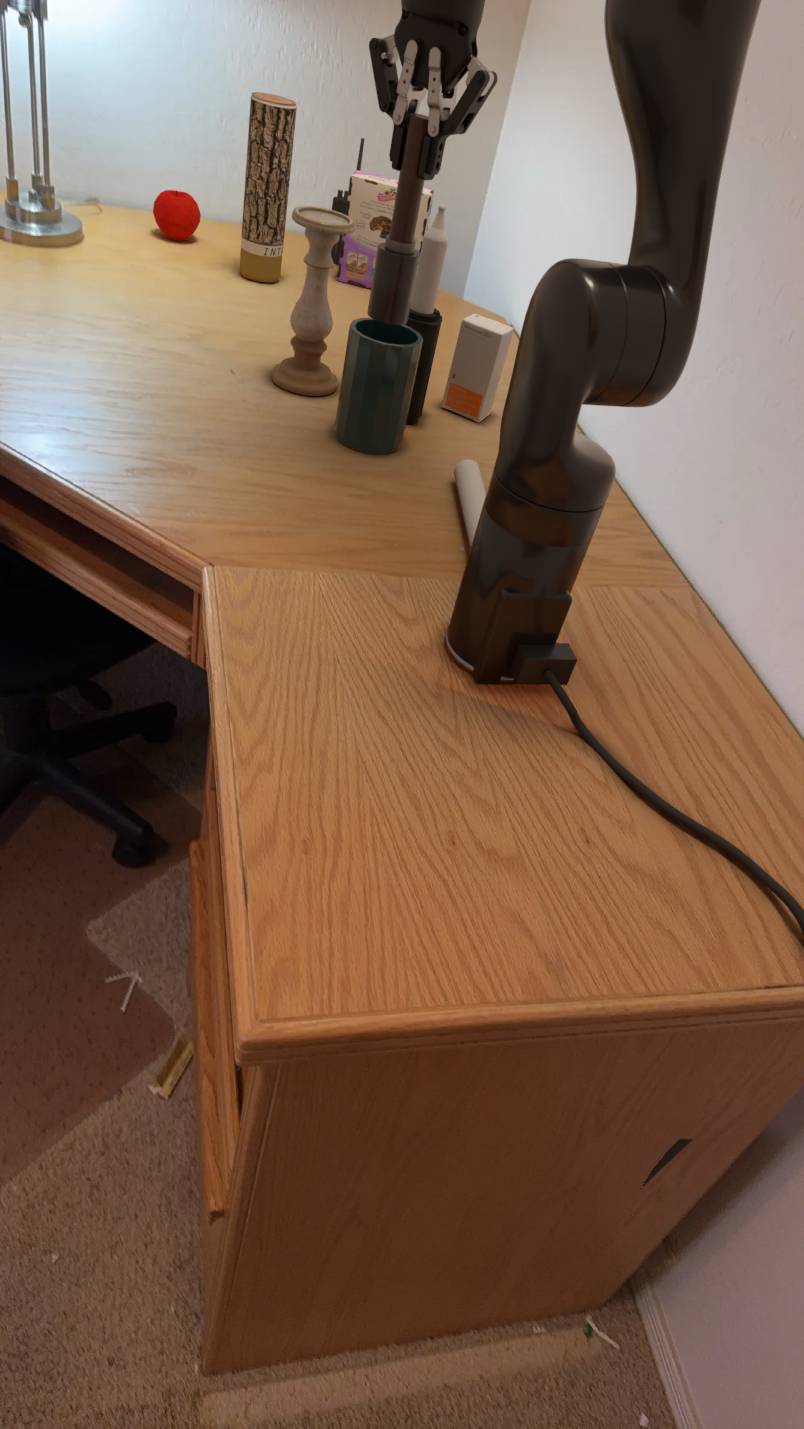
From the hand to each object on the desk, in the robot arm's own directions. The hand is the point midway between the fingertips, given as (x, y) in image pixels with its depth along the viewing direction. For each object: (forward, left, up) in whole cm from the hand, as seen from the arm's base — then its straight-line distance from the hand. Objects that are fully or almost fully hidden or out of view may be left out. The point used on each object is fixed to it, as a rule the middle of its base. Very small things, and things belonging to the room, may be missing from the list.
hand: (412, 173), depth 89 cm
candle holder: (+16, +6, -29) cm, 34 cm away
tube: (-21, -9, -29) cm, 37 cm away
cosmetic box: (+12, -16, -29) cm, 36 cm away
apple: (+73, +21, -29) cm, 81 cm away
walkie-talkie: (+73, -8, -29) cm, 79 cm away
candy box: (+62, -13, -29) cm, 70 cm away
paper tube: (+58, +8, -29) cm, 66 cm away
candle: (+9, -6, -29) cm, 31 cm away
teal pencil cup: (+1, 0, -29) cm, 29 cm away
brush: (0, 0, -14) cm, 14 cm away
